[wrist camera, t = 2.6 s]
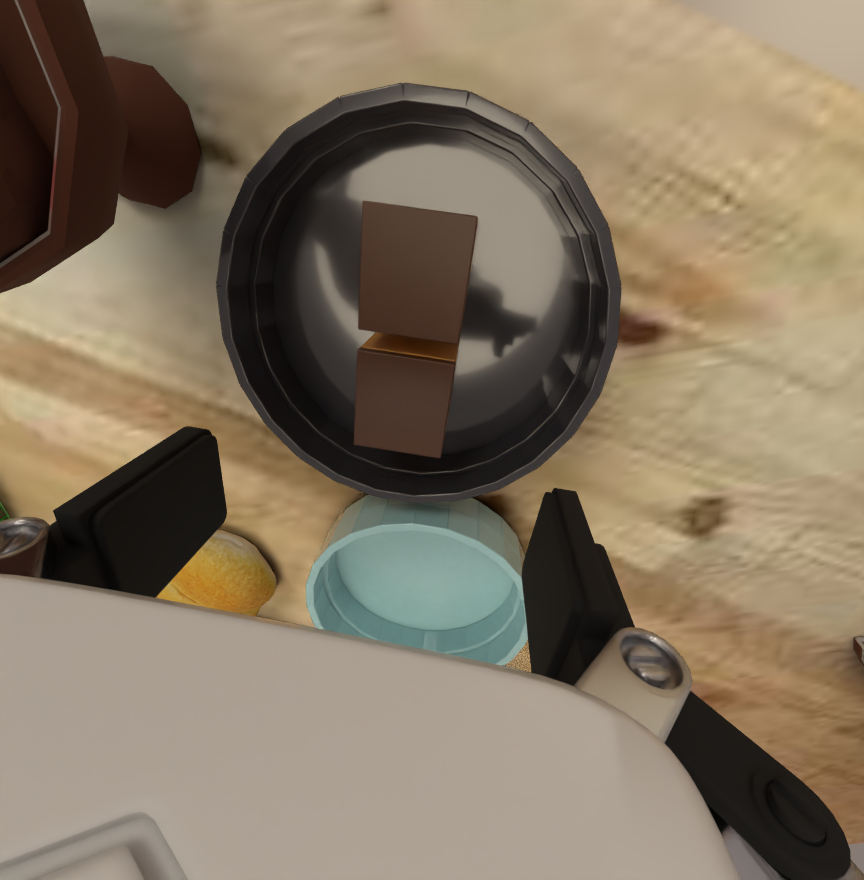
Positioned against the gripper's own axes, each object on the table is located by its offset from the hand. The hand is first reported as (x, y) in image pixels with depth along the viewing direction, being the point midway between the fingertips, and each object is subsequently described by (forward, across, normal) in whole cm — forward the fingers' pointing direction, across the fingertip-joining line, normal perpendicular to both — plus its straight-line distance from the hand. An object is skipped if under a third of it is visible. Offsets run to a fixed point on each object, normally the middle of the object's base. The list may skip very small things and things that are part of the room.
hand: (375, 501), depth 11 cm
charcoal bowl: (+12, +1, -3) cm, 12 cm away
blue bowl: (+12, -1, +14) cm, 18 cm away
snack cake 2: (+11, +1, 0) cm, 11 cm away
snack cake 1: (+11, +1, -5) cm, 13 cm away
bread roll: (+12, +14, +18) cm, 25 cm away
